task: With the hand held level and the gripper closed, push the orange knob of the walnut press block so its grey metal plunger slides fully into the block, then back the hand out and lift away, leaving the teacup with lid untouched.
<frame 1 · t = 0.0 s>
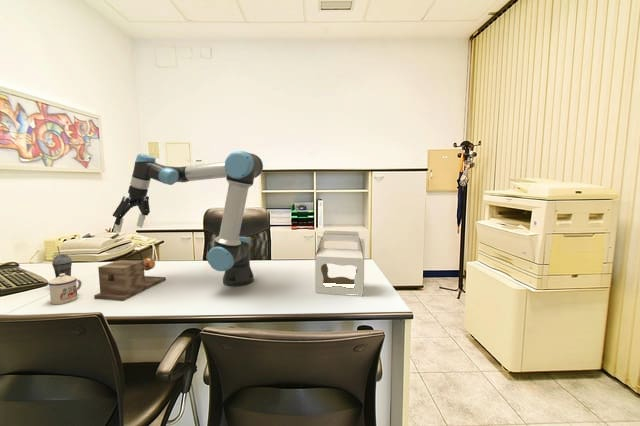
hand: (128, 228, 141), 28 cm above the table, tool tilted 20°, fingers open, 13 cm apart
gable box: (340, 290, 139), on the table
plunger: (133, 269, 139), point 9 cm above the table, slide at 0.0 cm
teacup with lid: (68, 299, 127), on the table
press block: (134, 288, 140), on the table
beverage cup: (64, 286, 142), on the table
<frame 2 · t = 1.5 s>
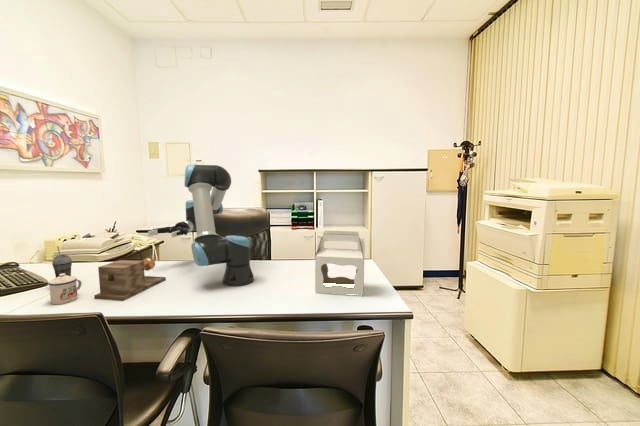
hand: (160, 234, 157), 22 cm above the table, tool horizontal, fingers open, 13 cm apart
nothing on the table moved.
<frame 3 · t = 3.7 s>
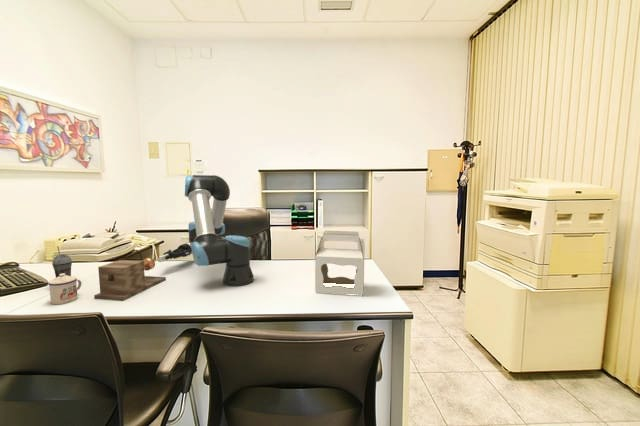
hand: (159, 259, 157), 9 cm above the table, tool horizontal, fingers closed
nothing on the table moved.
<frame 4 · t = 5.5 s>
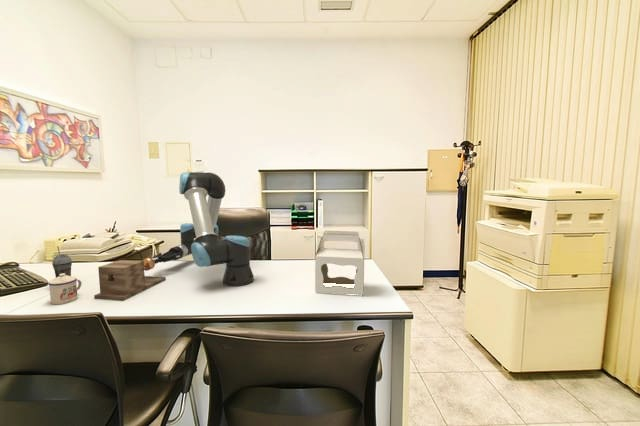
hand: (148, 263, 150), 9 cm above the table, tool horizontal, fingers closed
plunger: (133, 269, 139), point 9 cm above the table, slide at 0.1 cm, touching gripper
everything else where it was.
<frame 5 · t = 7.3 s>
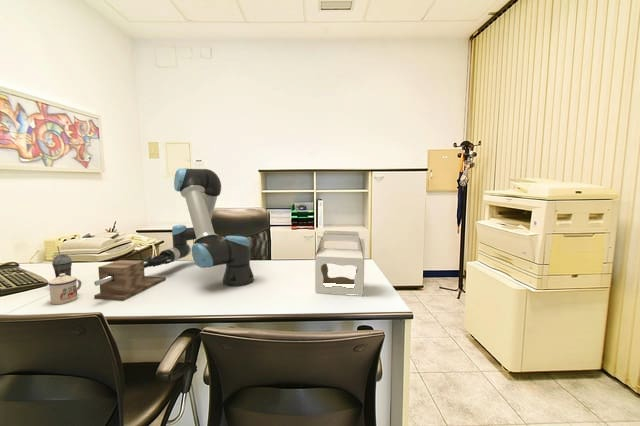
hand: (136, 268, 141), 9 cm above the table, tool horizontal, fingers closed
plunger: (118, 275, 131), point 9 cm above the table, slide at 8.5 cm, touching gripper
everything else where it was.
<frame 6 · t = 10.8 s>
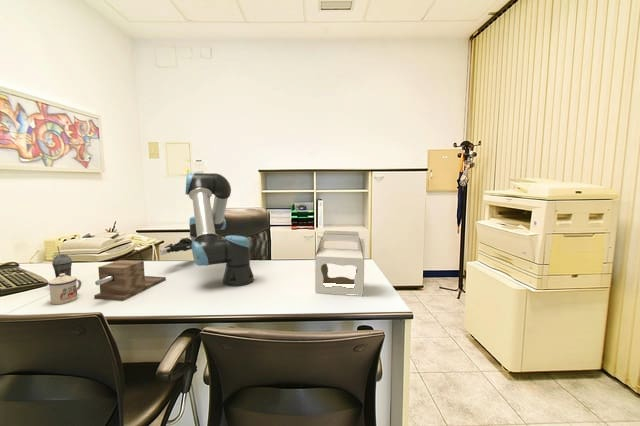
hand: (161, 252, 158), 13 cm above the table, tool horizontal, fingers closed
plunger: (119, 274, 131), point 9 cm above the table, slide at 8.0 cm
everything else where it was.
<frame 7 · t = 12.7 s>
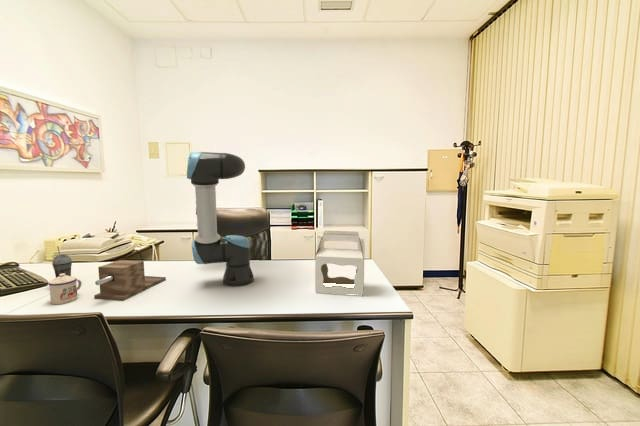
hand: (199, 226, 161), 26 cm above the table, tool tilted 30°, fingers closed
nothing on the table moved.
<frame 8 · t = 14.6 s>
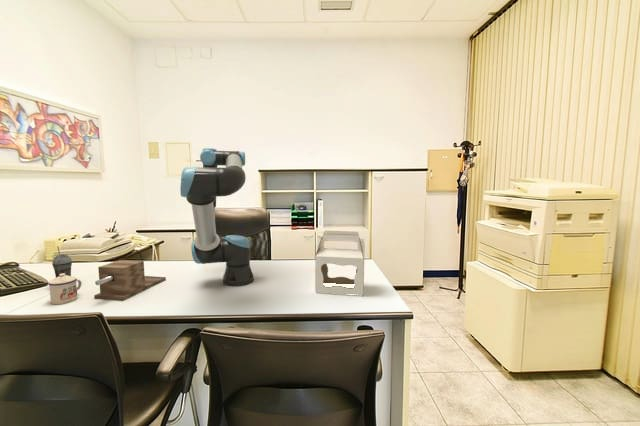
hand: (212, 219, 164), 29 cm above the table, tool pointing down, fingers closed
nothing on the table moved.
at the end: plunger slide at 8.0 cm; teacup with lid moved 0.2 cm from its start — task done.
